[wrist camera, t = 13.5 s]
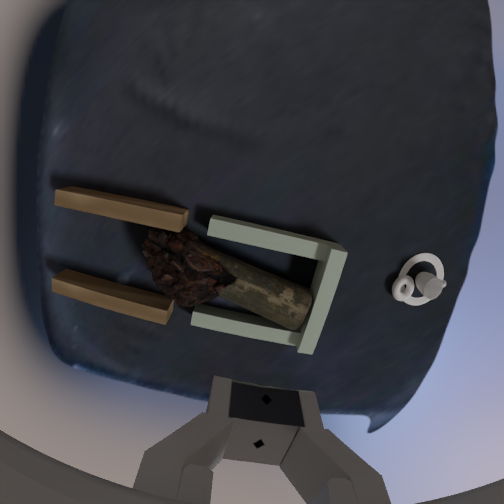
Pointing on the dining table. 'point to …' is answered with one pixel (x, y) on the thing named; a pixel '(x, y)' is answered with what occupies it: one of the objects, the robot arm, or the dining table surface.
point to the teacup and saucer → (419, 281)
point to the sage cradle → (321, 287)
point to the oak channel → (107, 291)
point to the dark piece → (220, 278)
